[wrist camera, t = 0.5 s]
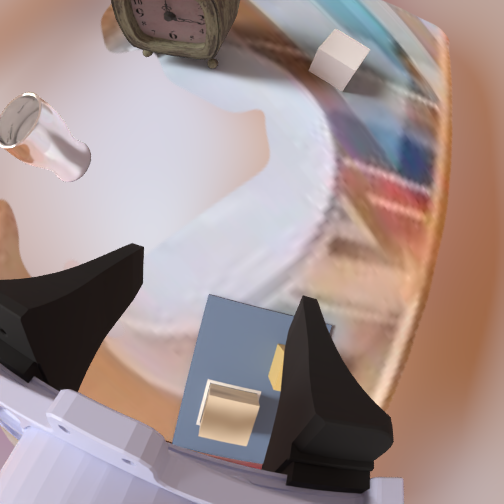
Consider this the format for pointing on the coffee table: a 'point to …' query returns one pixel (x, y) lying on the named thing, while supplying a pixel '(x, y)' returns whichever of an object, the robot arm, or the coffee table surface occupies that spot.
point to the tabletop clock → (177, 26)
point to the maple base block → (229, 415)
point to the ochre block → (277, 368)
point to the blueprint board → (233, 373)
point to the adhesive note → (338, 59)
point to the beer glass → (42, 138)
